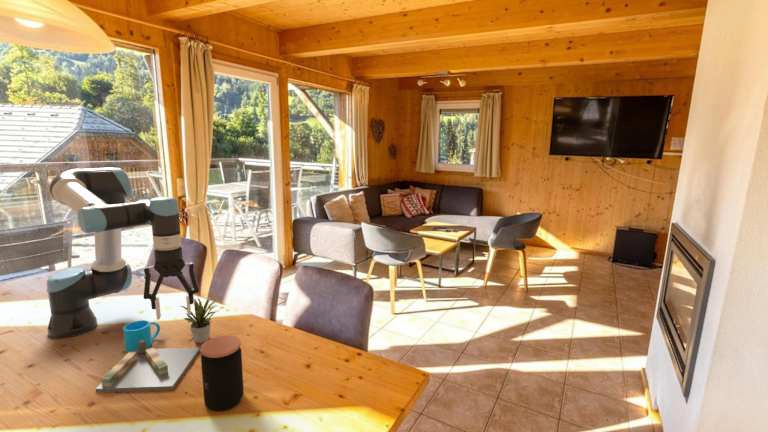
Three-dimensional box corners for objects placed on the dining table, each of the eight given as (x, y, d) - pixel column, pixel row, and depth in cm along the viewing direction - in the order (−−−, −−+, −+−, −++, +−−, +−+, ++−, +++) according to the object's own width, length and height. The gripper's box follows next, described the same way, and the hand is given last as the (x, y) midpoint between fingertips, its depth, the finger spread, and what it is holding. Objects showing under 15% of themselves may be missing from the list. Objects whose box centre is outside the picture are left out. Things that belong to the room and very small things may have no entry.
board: (135, 352, 136) (135, 349, 136) (200, 350, 138) (199, 347, 138) (96, 392, 115) (95, 388, 114) (173, 389, 117) (172, 386, 116)
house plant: (233, 335, 149) (230, 296, 146) (203, 352, 137) (200, 310, 134) (206, 327, 155) (204, 289, 152) (176, 343, 143) (172, 302, 139)
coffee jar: (212, 389, 117) (208, 335, 114) (247, 388, 118) (245, 334, 115) (198, 413, 107) (193, 355, 103) (237, 412, 108) (234, 354, 104)
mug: (132, 354, 135) (130, 333, 133) (121, 347, 139) (118, 326, 137) (166, 340, 145) (164, 320, 143) (155, 334, 149) (153, 314, 147)
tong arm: (146, 356, 131) (145, 349, 131) (154, 353, 133) (153, 347, 133) (159, 375, 121) (158, 368, 121) (168, 372, 123) (167, 365, 122)
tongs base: (137, 350, 135) (136, 338, 134) (152, 350, 136) (151, 338, 135) (102, 386, 115) (100, 373, 115) (119, 386, 116) (117, 372, 115)
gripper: (125, 253, 111) (134, 326, 116) (204, 247, 119) (209, 315, 124) (130, 247, 118) (138, 315, 122) (205, 241, 126) (209, 306, 130)
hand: (174, 315), depth 123 cm, fingers open, 8 cm apart
